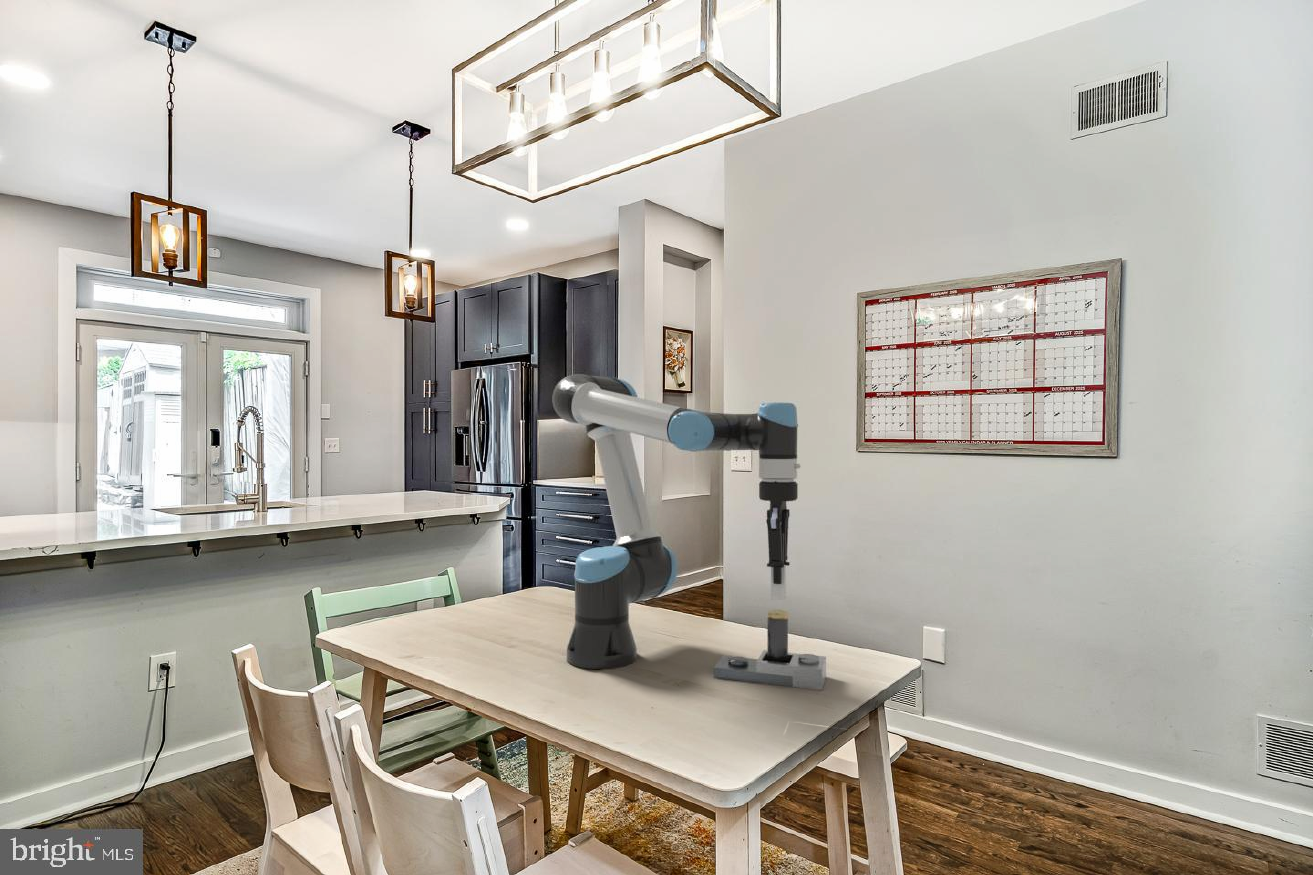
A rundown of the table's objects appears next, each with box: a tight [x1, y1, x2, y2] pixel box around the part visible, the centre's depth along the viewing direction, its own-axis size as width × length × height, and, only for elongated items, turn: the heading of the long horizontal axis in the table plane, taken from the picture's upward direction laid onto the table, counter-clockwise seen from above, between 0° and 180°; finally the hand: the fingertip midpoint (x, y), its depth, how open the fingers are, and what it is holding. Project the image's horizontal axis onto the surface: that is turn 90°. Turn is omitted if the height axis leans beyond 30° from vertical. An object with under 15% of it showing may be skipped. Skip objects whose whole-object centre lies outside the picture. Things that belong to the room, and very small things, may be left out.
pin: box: [766, 609, 789, 663], centre depth 135 cm, size 4×4×13 cm
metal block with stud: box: [713, 649, 827, 691], centre depth 136 cm, size 21×8×5 cm, turn 71°
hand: (778, 599), depth 135 cm, fingers closed
